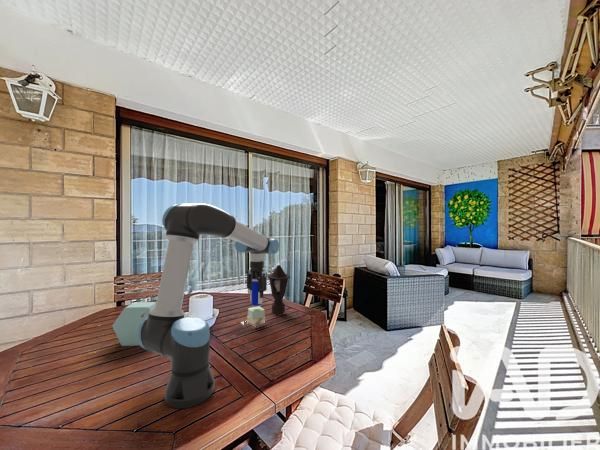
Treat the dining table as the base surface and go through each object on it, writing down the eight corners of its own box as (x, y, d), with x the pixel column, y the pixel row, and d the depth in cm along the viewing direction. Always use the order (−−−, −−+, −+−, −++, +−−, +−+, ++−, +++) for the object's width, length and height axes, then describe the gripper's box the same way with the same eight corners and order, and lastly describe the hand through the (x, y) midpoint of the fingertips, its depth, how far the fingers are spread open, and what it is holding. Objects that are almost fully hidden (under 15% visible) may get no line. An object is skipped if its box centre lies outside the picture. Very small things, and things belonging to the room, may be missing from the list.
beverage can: (262, 305, 143) (263, 278, 142) (256, 307, 138) (257, 280, 138) (255, 303, 145) (256, 277, 145) (249, 305, 141) (250, 278, 141)
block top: (252, 319, 137) (252, 312, 137) (247, 315, 143) (247, 308, 143) (264, 317, 141) (264, 309, 141) (259, 313, 147) (259, 306, 147)
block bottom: (254, 327, 137) (254, 319, 137) (247, 323, 142) (247, 316, 142) (264, 323, 142) (265, 316, 142) (257, 319, 147) (257, 313, 147)
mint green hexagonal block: (146, 347, 124) (171, 311, 125) (138, 355, 116) (164, 317, 117) (115, 328, 122) (140, 292, 123) (104, 336, 114) (132, 297, 115)
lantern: (289, 318, 152) (290, 267, 151) (264, 317, 152) (265, 267, 151) (290, 309, 166) (291, 263, 166) (267, 309, 167) (268, 263, 166)
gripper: (274, 261, 140) (273, 303, 140) (249, 258, 150) (249, 297, 150) (265, 263, 133) (264, 307, 134) (240, 259, 143) (239, 301, 144)
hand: (256, 302), depth 142 cm, fingers closed on beverage can, 5 cm apart
